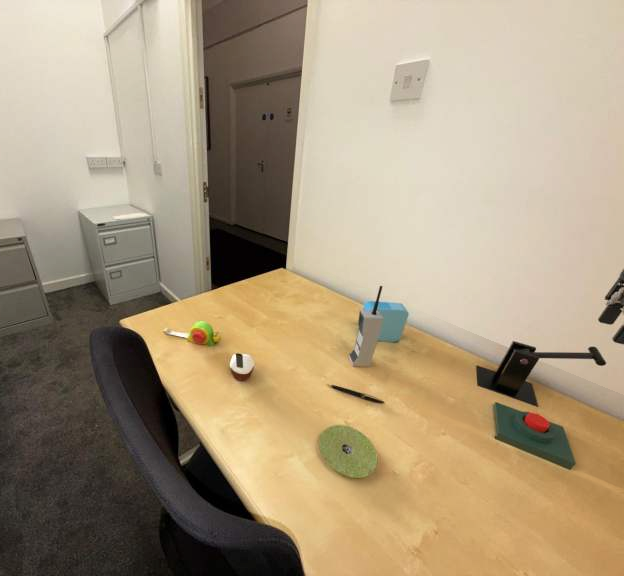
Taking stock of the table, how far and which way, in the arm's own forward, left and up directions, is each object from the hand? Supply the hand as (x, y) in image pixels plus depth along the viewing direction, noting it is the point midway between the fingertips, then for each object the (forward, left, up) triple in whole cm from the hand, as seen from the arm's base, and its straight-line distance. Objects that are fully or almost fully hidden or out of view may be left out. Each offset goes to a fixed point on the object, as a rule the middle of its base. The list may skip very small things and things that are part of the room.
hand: (611, 332), depth 62 cm
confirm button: (+7, +15, -19) cm, 25 cm away
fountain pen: (+42, +25, -23) cm, 54 cm away
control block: (+7, +15, -22) cm, 28 cm away
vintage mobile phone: (+44, +12, -23) cm, 51 cm away
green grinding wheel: (+39, +42, -23) cm, 62 cm away
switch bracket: (+10, 0, -22) cm, 25 cm away
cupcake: (+69, +36, -23) cm, 81 cm away
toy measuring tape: (+91, +31, -23) cm, 99 cm away
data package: (+42, -4, -23) cm, 48 cm away
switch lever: (+5, 0, -10) cm, 11 cm away
